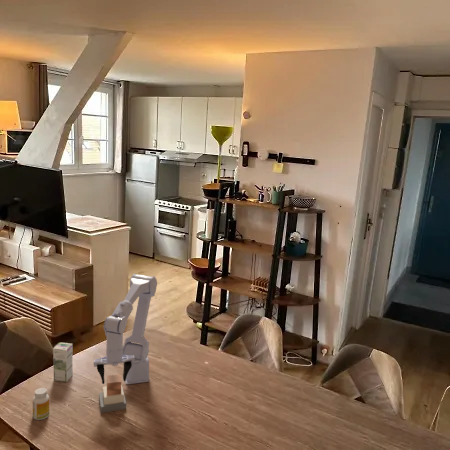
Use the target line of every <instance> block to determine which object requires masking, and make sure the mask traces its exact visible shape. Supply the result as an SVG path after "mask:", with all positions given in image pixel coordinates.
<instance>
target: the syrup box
mask: <svg viewBox="0 0 450 450" xmlns="http://www.w3.org/2000/svg"><path fill="white" fill-rule="evenodd" d="M73 349H74V347H73V343H68V342H58V343H57V344H55V345H54V347H53V349H52V350H53V351H52V353H53V355H52V356H53V357H52V359H53V360H52V361H53V365H52V366H53V381H54V382H55V381H57V382H64V383H68V381H69V380H70V379H71V378H72V377H73V375H74V373H73V372H74V371H73V370H74V369H73V352H74V351H73Z"/></svg>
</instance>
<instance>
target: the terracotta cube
mask: <svg viewBox="0 0 450 450" xmlns="http://www.w3.org/2000/svg"><path fill="white" fill-rule="evenodd" d="M121 384H122V375H121V374H114V375H113V374H112V375H107V376H106V386H107V395H116V394H121Z"/></svg>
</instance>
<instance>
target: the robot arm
mask: <svg viewBox="0 0 450 450" xmlns="http://www.w3.org/2000/svg"><path fill="white" fill-rule="evenodd" d="M157 285H158V280H157V278H156V276H151V275H144V274H137V273H133V274H132V275H131V277H130V280H129V289H128V292H127V293H126V296H125V297H124V300H121V301H119V303H117V306H116V308H115V309H114V311H113V312H112V314H111V315H109V316H107V317H106V318H105V320H104V323H103V331H104V334H105V335H104V336H105V337H106V356H103V357H100V358H95V359H93V367H95V368H96V370H97V372H98V373H99V375H100V378H101V384H102V385H105V366H107V365H109V366H113V367H116V366H119V364H123V372H122V379H123V380H122V381H123V382H125V384H126V385H132V384H140V383H141V384H142V383H147V382H148V383H149V382H150V359H149V357H148V356H149V353H150V349H149V348H150V347H149V346H150V342H149V340H147V338H146V337H145V333H146V332H145V331H146V326H147V321H148V315H149V309H150V305H151V301H152V297H155V296H156V291H157ZM137 299H138V301H137V306H136V310H135V311H136V312H135V317H134V322H133V328H132V332H131V333H132V334H131V335H130V336H128V337H126V338H125V340H123V339H124V337H123V336H124V334H123V333H124V332H125V330H126V327H127V323H128V318H129V317H130V316H131V314H132V313H133V310H134V306H133V304H134V303H135V302H136V300H137ZM123 341H124V343H123Z"/></svg>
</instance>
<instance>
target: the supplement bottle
mask: <svg viewBox="0 0 450 450" xmlns="http://www.w3.org/2000/svg"><path fill="white" fill-rule="evenodd" d="M49 416H50V396H49V394H48V389H47V388H46V387H39V388H37V389H35V390H34V396H33V397H32V418H33V419H34V420H36V421H40V420H45V419H46V418H48V417H49Z"/></svg>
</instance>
